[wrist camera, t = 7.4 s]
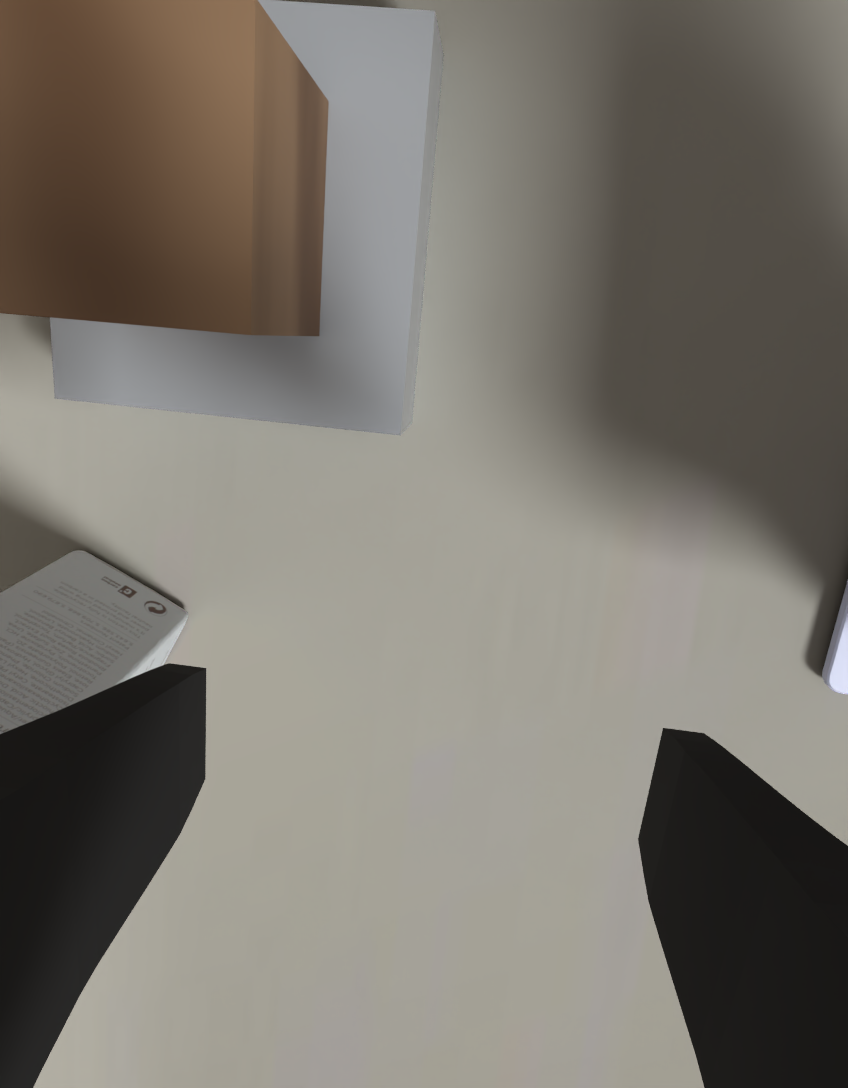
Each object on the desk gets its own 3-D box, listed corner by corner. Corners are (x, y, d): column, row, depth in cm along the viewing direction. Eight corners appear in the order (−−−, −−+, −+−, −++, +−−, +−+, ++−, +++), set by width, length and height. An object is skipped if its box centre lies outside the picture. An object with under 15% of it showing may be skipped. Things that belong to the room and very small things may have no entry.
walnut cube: (328, 101, 16) (255, -4, 11) (318, 336, 17) (250, 335, 12) (111, 87, 16) (-52, -21, 11) (119, 318, 17) (-23, 310, 13)
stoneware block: (445, 61, 18) (435, 10, 15) (414, 420, 20) (400, 435, 18) (101, 37, 18) (28, -16, 16) (114, 389, 21) (54, 398, 18)
